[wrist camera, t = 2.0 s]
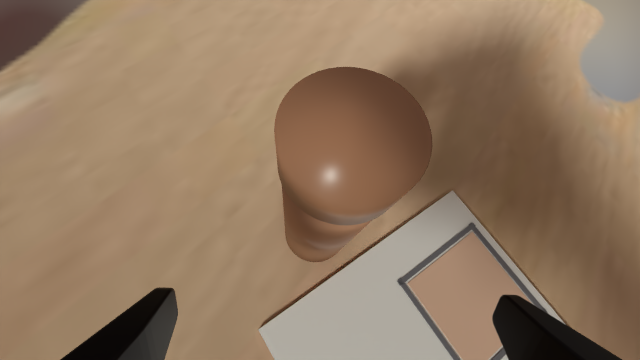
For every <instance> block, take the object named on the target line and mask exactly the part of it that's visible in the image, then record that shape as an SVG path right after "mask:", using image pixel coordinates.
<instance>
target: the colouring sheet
mask: <svg viewBox="0 0 640 360" xmlns="http://www.w3.org/2000/svg"><path fill="white" fill-rule="evenodd" d="M502 295H518V296H520V297H522V298H524V299H525V300H527V301H528V302H530V303H532V304H533V305H535V306H536V307H538V308H540V309H541V310H543V311H545V312H546V313H548V314H549V315H551V316H553V317H554V318H556V319H557V320H559V321H561V322H562V323H564V322H563V321H562V320H561V318H560V317H559V316H558V315H557V314H556V312H555V311H554V310H553V309H552V308H551V306H550V305H549V304H548V303H547V302H546V301H545V299H544V298H543V297H542V296H541V295H540V293H539V292H538V291H537V290H536V289H535V287H534V286H533V285H532V284H531V283H530V282H529V280H528V279H527V278H526V277H525V276H524V274H523V273H522V272H521V271H520V270H519V268H518V267H517V266H516V265H515V264H514V263H513V261H512V260H511V259H510V258H509V257H508V255H507V254H506V253H505V252H504V251H503V249H502V248H501V247H500V246H499V245H498V244H497V242H496V241H495V240H494V239H493V238H492V236H491V235H490V234H489V233H488V232H487V230H486V229H485V228H484V227H483V226H482V225H481V223H480V222H479V221H478V220H477V219H476V217H475V216H474V215H473V214H472V213H471V211H470V210H469V209H468V208H467V207H466V206H465V204H464V203H463V202H462V201H461V200H460V198H459V197H458V196H457V195H456V194H455V192H454V191H453V190H452V191H451V192H449V193H448V194H446V195H445V196H444V197H442V198H441V199H439V200H438V201H437V202H435V203H434V204H433V205H431V206H430V207H428V208H427V209H426V210H424V211H423V212H421V213H420V214H419V215H417V216H416V217H414V218H413V219H412V220H410V221H409V222H407V223H406V224H405V225H403V226H402V227H400V228H399V229H398V230H396V231H395V232H393V233H392V234H391V235H389V236H388V237H387V238H385V239H384V240H382V241H381V242H380V243H378V244H377V245H375V246H374V247H373V248H371V249H370V250H368V251H367V252H366V253H364V254H363V255H361V256H360V257H359V258H357V259H356V260H354V261H353V262H352V263H350V264H349V265H347V266H346V267H345V268H343V269H342V270H340V271H339V272H338V273H336V274H335V275H334V276H332V277H331V278H329V279H328V280H327V281H325V282H324V283H322V284H321V285H320V286H318V287H317V288H315V289H314V290H313V291H311V292H310V293H308V294H307V295H306V296H304V297H303V298H301V299H300V300H299V301H297V302H296V303H294V304H293V305H292V306H290V307H289V308H288V309H286V310H285V311H283V312H282V313H281V314H279V315H278V316H276V317H275V318H274V319H272V320H271V321H269V322H268V323H267V324H265V325H264V326H262V327H261V328H260V329H258V330H259V332H260V334H261V336H262V337H263V339H264V341H265V343H266V345H267V346H268V348H269V350H270V352H271V354H272V356H273V357H274V359H275V360H508V357H507V355H506V353H505V350H504V348H503V346H502V343H501V341H500V339H499V336H498V334H497V332H496V329H495V327H494V325H493V321H492V315H493V312H494V310H495V308H496V306H497V303H498V301H499V299H500V297H501V296H502ZM564 324H565V323H564ZM565 325H566V324H565Z"/></svg>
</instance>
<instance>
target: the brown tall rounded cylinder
mask: <svg viewBox="0 0 640 360" xmlns="http://www.w3.org/2000/svg"><path fill="white" fill-rule="evenodd" d="M274 132H275V143H276V154H277V165H278V173H279V177H280V181H281V183H282V192H283V207H284V221H285V235H286V240H287V243H288V245H289V247H290V249H291V250H292V251H293V253H294V254H295V255H297V256H298V257H300V258H301V259H303V260H306V261H310V262H321V261H325V260H327V259H329V258H331V257H333V256H334V255H335V254H336V253H337V252H338V251H339V250H341V249H342V248H343V247H344V246H345V245H346V244H347V243H348V242H349V241H350V240H351V239H352V238H353V237H354V236H356V235H357V234H358V233H359V232H360V231H361V230H362V229H363V228H364V227H365V226H366V225H367V224H368V223H369V222H370V221H372V220H373V219H375V218H377V217H379V216H380V215H382V214H383V213H384V212H386V211H387V210H388V209H389V208H390V207H392V206H393V205H394V204H395V203H396V202H397V201H398V200H399V199H401V198H402V197H403V196H404V195H405V194H406V193H407V192H408V191H410V190H411V189H412V188H413V187H414V186H415V185H416V184H417V183H418V181H419V180H420V179H421V177H422V176H423V174H424V173H425V171H426V169H427V167H428V164H429V161H430V157H431V152H432V135H431V129H430V126H429V123H428V120H427V118H426V115H425V113H424V111H423V110H422V108H421V106H420V105H419V103H418V102H417V101H416V100H415V98H414V97H413V96H412V95H411V94H410V93H409V92H408V91H407V90H406V89H404V88H403V87H402V86H401V85H399V84H398V83H396V82H395V81H393V80H392V79H390V78H388V77H386V76H384V75H382V74H379V73H377V72H374V71H370V70H367V69H361V68H355V67H336V68H329V69H325V70H321V71H318V72H316V73H313V74H311V75H309V76H307V77H305V78H304V79H302V80H301V81H299V82H298V83H297V84H295V85H294V86H293V87H292V88H291V89H290V90H289V92H288V93H287V94H286V95H285V97H284V98H283V100H282V102H281V104H280V106H279V108H278V111H277V114H276V119H275V129H274Z"/></svg>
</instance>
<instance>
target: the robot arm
mask: <svg viewBox="0 0 640 360" xmlns="http://www.w3.org/2000/svg"><path fill="white" fill-rule="evenodd" d="M177 316H178V309H177V302H176V296H175V291H174V289H173V288H156V289H154V290H153V291H151V292H150V293H149V294H147V295H146V296H145V297H143V298H142V299H141V300H139V301H138V302H137V303H135V304H134V305H133V306H131V307H130V308H129V309H127V310H126V311H125V312H123V313H122V314H121V315H119V316H118V317H117V318H115V319H114V320H113V321H111V322H110V323H109V324H107V325H106V326H105V327H103V328H102V329H101V330H99V331H98V332H97V333H95V334H94V335H93V336H91V337H90V338H89V339H87V340H86V341H85V342H83V343H82V344H81V345H79V346H78V347H77V348H75V349H74V350H73V351H71V352H70V353H69V354H67V355H66V356H65V357H63V358H62V359H61V360H164V359H165V356H166V353H167V349H168V346H169V343H170V340H171V337H172V334H173V330H174V327H175V324H176V321H177ZM492 321H493V325H494V327H495V329H496V332H497V334H498V336H499V339H500V341H501V343H502V346H503V348H504V350H505V353H506V355H507V357H508V360H622V359H620V358H619V357H617V356H616V355H614V354H612V353H611V352H609V351H607V350H606V349H604V348H603V347H601V346H599V345H598V344H596V343H595V342H593V341H591V340H590V339H588V338H586V337H585V336H583V335H582V334H580V333H578V332H577V331H575V330H574V329H572V328H570V327H569V326H567V325H565V324H564V323H562V322H561V321H559V320H557V319H556V318H554V317H553V316H551V315H549V314H548V313H546V312H545V311H543V310H541V309H540V308H538V307H536V306H535V305H533V304H532V303H530V302H528V301H527V300H525V299H524V298H522V297H520V296H518V295H502V296H501V297H500V299H499V301H498V303H497V306H496V308H495V310H494V312H493V315H492Z"/></svg>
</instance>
